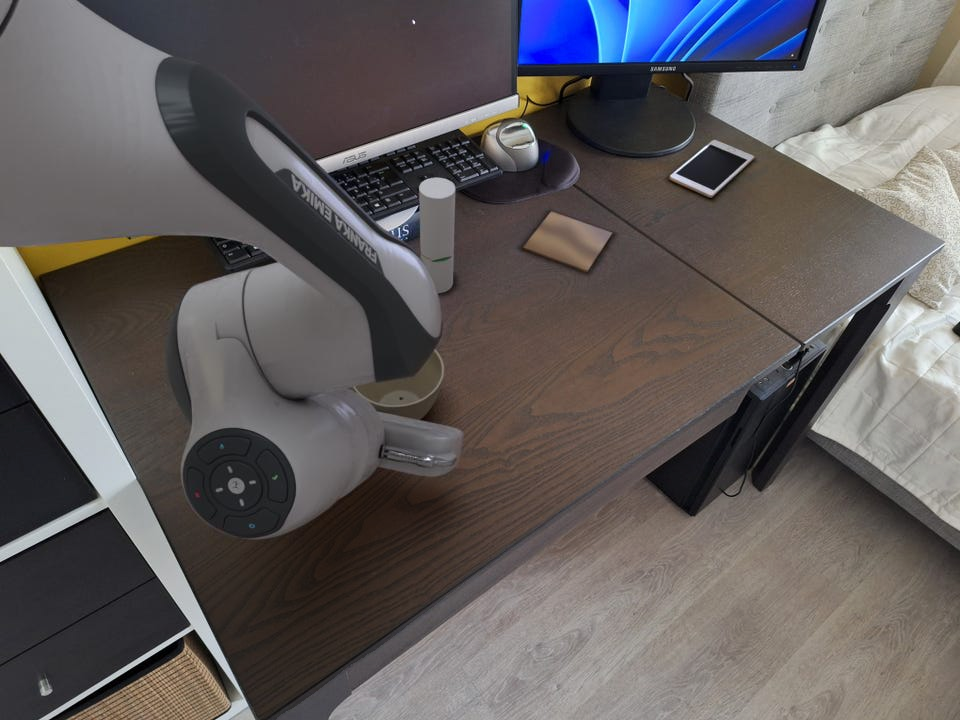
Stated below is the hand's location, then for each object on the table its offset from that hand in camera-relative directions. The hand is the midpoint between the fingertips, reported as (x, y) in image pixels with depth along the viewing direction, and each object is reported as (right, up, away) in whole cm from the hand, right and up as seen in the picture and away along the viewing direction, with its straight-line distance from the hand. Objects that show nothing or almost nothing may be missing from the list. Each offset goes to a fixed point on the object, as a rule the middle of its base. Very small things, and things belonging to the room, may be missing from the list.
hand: (374, 419), depth 69 cm
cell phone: (+50, +38, +44) cm, 77 cm away
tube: (+5, +16, +22) cm, 28 cm away
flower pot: (+2, 0, +7) cm, 8 cm away
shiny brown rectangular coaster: (+24, +23, +29) cm, 44 cm away
